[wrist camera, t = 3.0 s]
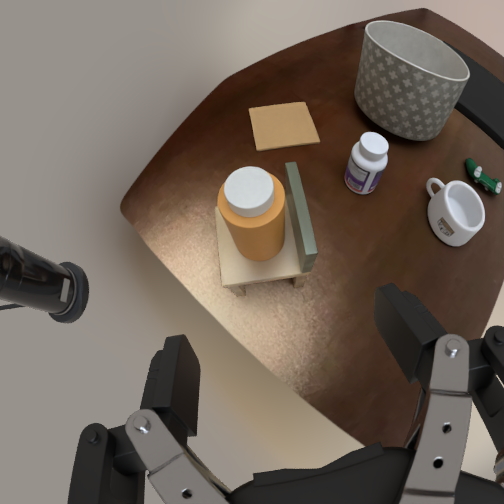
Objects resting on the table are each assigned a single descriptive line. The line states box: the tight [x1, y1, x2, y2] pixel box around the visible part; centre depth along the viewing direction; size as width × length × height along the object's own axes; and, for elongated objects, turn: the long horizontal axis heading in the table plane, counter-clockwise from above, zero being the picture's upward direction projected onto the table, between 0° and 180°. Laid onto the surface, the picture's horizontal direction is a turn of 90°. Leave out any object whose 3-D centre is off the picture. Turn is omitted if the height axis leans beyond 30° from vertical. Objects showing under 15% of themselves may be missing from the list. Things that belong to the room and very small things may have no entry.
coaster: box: [249, 102, 320, 151], centre depth 46 cm, size 11×11×1 cm
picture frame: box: [443, 41, 504, 149], centre depth 46 cm, size 40×2×33 cm
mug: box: [426, 178, 485, 246], centre depth 35 cm, size 12×10×6 cm
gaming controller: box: [466, 158, 502, 195], centre depth 37 cm, size 9×4×6 cm
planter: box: [354, 21, 470, 141], centre depth 36 cm, size 19×19×18 cm
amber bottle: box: [218, 167, 285, 261], centre depth 24 cm, size 5×5×10 cm
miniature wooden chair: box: [215, 162, 318, 297], centre depth 31 cm, size 9×9×16 cm
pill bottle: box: [345, 132, 388, 194], centre depth 36 cm, size 5×5×10 cm
